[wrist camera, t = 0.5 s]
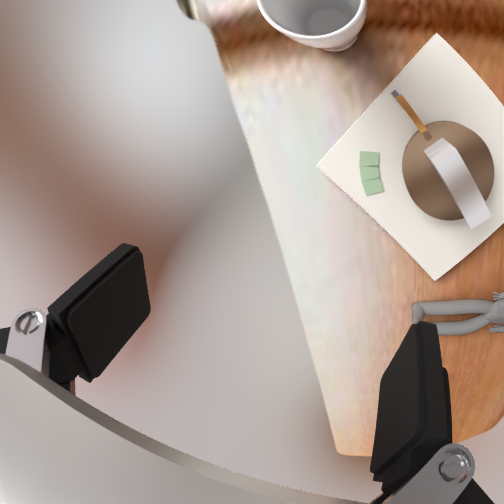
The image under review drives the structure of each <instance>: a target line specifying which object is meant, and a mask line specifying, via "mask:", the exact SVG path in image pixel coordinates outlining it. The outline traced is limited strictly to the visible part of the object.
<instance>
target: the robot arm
mask: <svg viewBox="0 0 504 504" xmlns="http://www.w3.org/2000/svg"><path fill="white" fill-rule="evenodd" d="M150 309H151V308H150V301H149V295H148V289H147V282H146V276H145V270H144V262H143V255H142V253H141V252H140V250H139V248H138V247H136V246H132V245H129V244H126V243H123V244H121V245H120V246H118V247H117V248H116V249H115V250H114V251H112V252H111V253H110V254H109V255H107V256H106V257H105V258H104V259H103V260H101V261H100V262H99V263H98V264H97V265H96V266H94V267H93V268H92V269H91V270H90V271H89V272H87V273H86V274H85V275H84V276H83V277H82V278H80V279H79V280H78V281H77V282H76V283H75V284H74V285H72V286H71V287H70V288H69V289H68V290H67V291H66V292H65V293H64V294H62V295H61V296H60V297H59V298H58V299H57V300H56V301H55V302H54V303H53V304H51V305H50V306H49V307H48V312H49V314H48V315H47V316H46V315H45V313H44V312H43V311H42V310H41V309H37V308H31V309H27V310H24V311H22V312H21V313H19V314H18V315H17V316H16V317H15V319H14V320H13V322H12V325H11V327H8V328H3V329H0V504H367V503H362V502H357V501H350V500H345V499H339V498H333V497H328V496H323V495H318V494H314V493H309V492H305V491H301V490H296V489H292V488H288V487H284V486H280V485H276V484H272V483H269V482H265V481H262V480H259V479H255V478H252V477H249V476H246V475H242V474H239V473H236V472H233V471H230V470H227V469H225V468H222V467H219V466H216V465H214V464H211V463H208V462H206V461H203V460H201V459H198V458H195V457H193V456H190V455H188V454H186V453H183V452H181V451H179V450H176V449H174V448H172V447H169V446H167V445H165V444H163V443H161V442H159V441H156V440H154V439H152V438H150V437H148V436H146V435H144V434H142V433H140V432H138V431H136V430H134V429H132V428H130V427H128V426H127V425H125V424H123V423H121V422H119V421H117V420H115V419H114V418H112V417H110V416H108V415H106V414H105V413H103V412H101V411H100V410H98V409H96V408H94V407H92V406H91V405H89V404H88V403H86V402H84V401H83V400H81V399H80V398H78V397H76V395H75V378H76V377H77V375H79V377H81V378H83V379H84V380H86V381H87V382H89V383H90V382H91V381H92V380H93V379H94V378H96V377H98V376H100V375H101V373H102V372H103V371H104V370H105V368H106V367H107V366H108V365H109V363H110V362H111V361H112V360H113V358H114V357H115V356H116V355H117V353H118V352H119V351H120V350H121V348H122V347H123V346H124V345H125V344H126V342H127V341H128V340H129V339H130V338H131V336H132V335H133V334H134V333H135V331H136V330H137V329H138V328H139V327H140V326H141V324H142V323H143V322H144V321H145V320H146V318H147V317H148V315H149V314H150ZM474 470H475V462H474V458H473V456H472V454H471V452H470V451H469V450H468V449H467V448H466V447H464V446H463V445H460V444H457V443H452V417H451V402H450V390H449V380H448V373H447V370H446V368H443V367H442V359H441V351H440V344H439V337H438V330H437V326H436V324H433V323H429V322H424V321H419V322H418V323H417V324H412V325H411V327H410V329H409V330H408V332H407V334H406V336H405V338H404V340H403V342H402V343H401V345H400V347H399V349H398V350H397V352H396V354H395V356H394V357H393V359H392V361H391V362H390V364H389V366H388V368H387V369H386V371H385V372H384V374H383V376H382V379H381V382H380V392H379V403H378V413H377V422H376V431H375V439H374V446H373V453H372V460H371V466H370V472H371V473H374V477H373V481H378V482H383V483H382V489H381V490H382V491H383V492H382V493H381V494H380V495H378V496H377V497H376V498H375V499H374V500H372V501H371V502H370V503H369V504H494V503H493V502H492V500H491V499H490V498H489V497H488V496H487V495H486V493H485V492H484V491H483V490H482V489H481V488H480V487H479V485H478V484H477V483H476V482H475V481H474V480H473V478H472V477H473V475H474Z"/></svg>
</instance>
